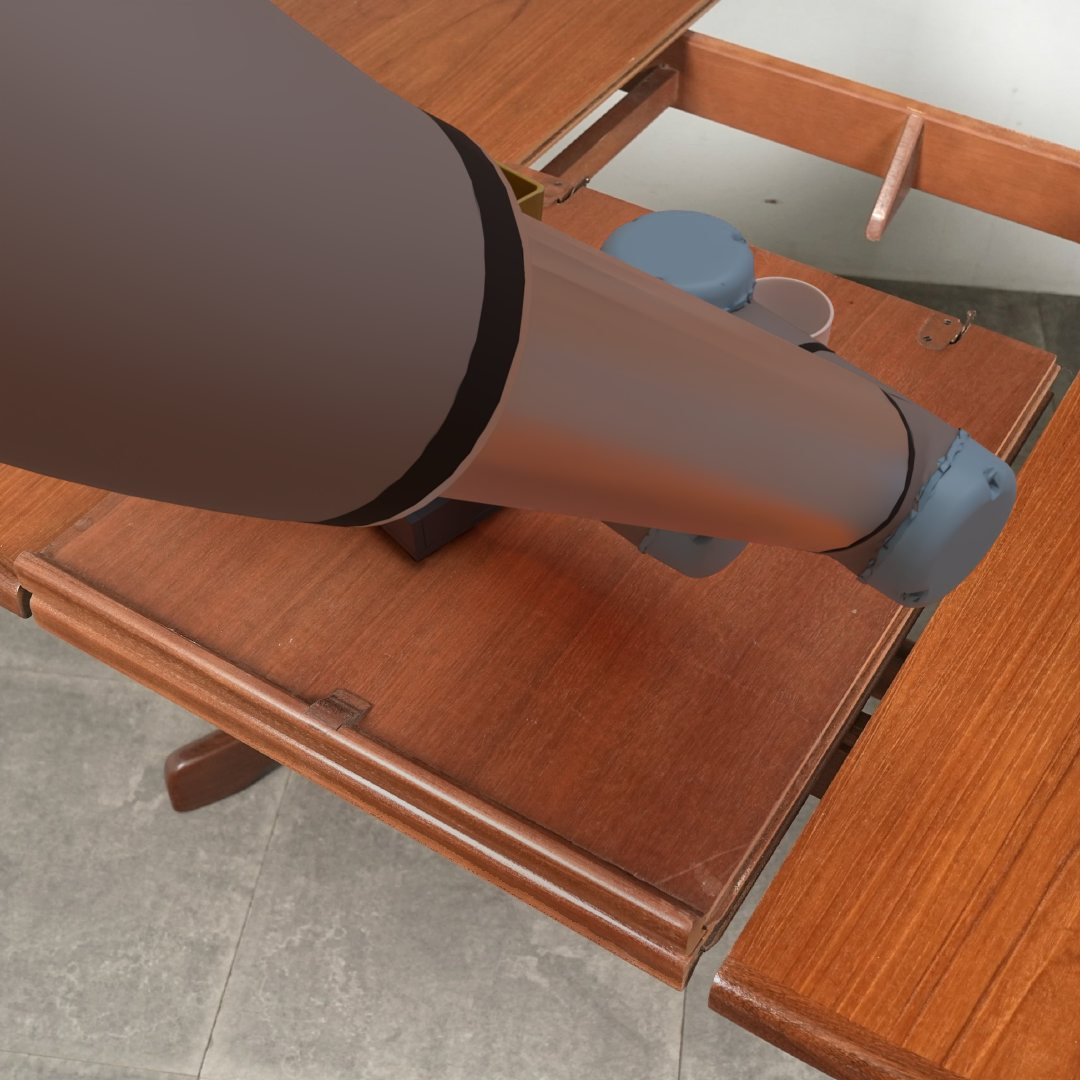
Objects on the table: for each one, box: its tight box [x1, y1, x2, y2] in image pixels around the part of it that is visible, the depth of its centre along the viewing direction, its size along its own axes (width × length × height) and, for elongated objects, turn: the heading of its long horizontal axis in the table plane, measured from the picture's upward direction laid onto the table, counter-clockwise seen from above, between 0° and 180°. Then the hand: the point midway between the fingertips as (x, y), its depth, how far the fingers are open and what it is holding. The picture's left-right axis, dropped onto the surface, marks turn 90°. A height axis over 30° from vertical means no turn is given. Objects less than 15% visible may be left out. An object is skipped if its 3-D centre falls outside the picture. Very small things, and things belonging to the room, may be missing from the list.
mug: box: [753, 276, 835, 347], centre depth 82 cm, size 10×7×12 cm, turn 53°
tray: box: [379, 497, 506, 562], centre depth 86 cm, size 12×22×4 cm, turn 41°
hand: (309, 258), depth 82 cm, fingers open, 13 cm apart
